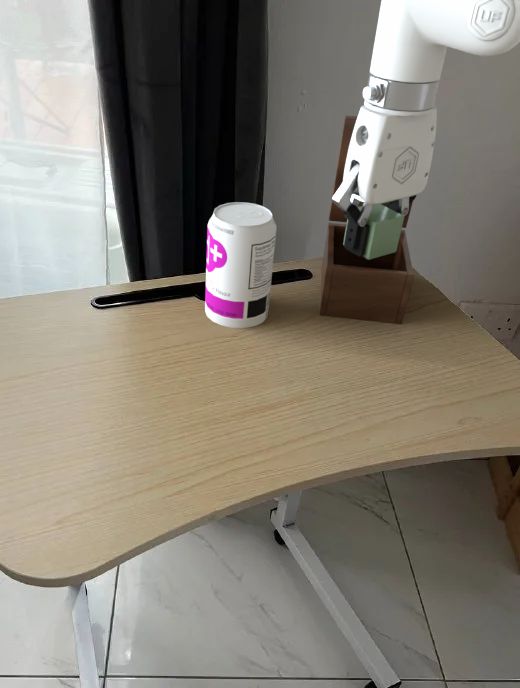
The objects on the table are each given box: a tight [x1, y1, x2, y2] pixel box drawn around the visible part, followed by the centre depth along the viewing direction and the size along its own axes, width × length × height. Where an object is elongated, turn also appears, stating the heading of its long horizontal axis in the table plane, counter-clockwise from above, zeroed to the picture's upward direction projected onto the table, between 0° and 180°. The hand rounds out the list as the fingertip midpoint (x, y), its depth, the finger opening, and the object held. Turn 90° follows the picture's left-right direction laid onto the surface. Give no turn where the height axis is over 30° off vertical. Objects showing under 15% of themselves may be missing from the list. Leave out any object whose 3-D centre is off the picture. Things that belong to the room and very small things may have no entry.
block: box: [343, 204, 404, 260], centre depth 82 cm, size 5×5×5 cm
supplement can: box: [204, 201, 278, 329], centre depth 82 cm, size 8×8×15 cm
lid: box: [328, 115, 414, 229], centre depth 88 cm, size 14×11×6 cm
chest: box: [318, 222, 415, 325], centre depth 89 cm, size 14×11×9 cm
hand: (370, 245), depth 83 cm, fingers closed on block, 4 cm apart
